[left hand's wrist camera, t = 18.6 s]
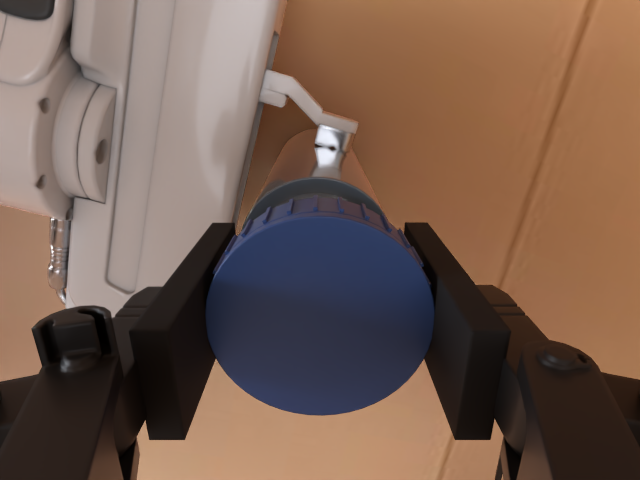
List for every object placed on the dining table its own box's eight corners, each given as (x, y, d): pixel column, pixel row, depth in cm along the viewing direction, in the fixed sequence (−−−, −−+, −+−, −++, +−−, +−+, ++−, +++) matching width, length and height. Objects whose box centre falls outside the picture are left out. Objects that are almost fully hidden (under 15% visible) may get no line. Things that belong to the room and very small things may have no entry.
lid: (356, 404, 13) (361, 447, 12) (185, 328, 12) (165, 364, 11) (464, 257, 12) (486, 284, 10) (273, 153, 11) (265, 166, 9)
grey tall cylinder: (323, 110, 26) (330, 149, 11) (373, 175, 27) (435, 283, 13) (260, 163, 27) (194, 260, 13) (311, 223, 29) (305, 370, 14)
